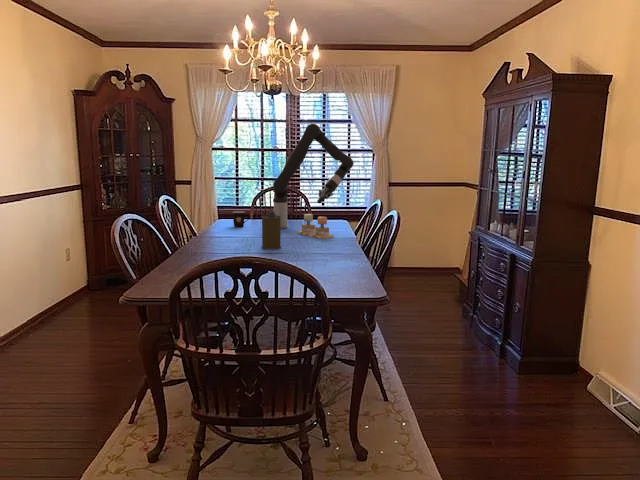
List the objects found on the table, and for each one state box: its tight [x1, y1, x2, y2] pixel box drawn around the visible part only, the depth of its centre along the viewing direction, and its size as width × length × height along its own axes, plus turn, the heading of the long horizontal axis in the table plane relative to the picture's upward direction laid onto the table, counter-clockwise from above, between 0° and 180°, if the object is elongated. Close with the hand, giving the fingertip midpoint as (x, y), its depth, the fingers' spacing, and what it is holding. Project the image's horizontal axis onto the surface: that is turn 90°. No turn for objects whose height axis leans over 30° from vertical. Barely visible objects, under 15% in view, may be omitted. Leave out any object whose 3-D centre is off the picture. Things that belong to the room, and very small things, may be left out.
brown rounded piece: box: [317, 216, 328, 228], centre depth 320 cm, size 6×6×7 cm
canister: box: [261, 210, 282, 250], centre depth 286 cm, size 11×10×20 cm
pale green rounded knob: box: [303, 213, 314, 225], centre depth 330 cm, size 6×6×7 cm
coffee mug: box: [232, 210, 252, 228], centre depth 355 cm, size 12×9×10 cm
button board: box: [296, 223, 334, 240], centre depth 326 cm, size 24×10×6 cm, turn 39°
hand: (318, 202), depth 334 cm, fingers closed
